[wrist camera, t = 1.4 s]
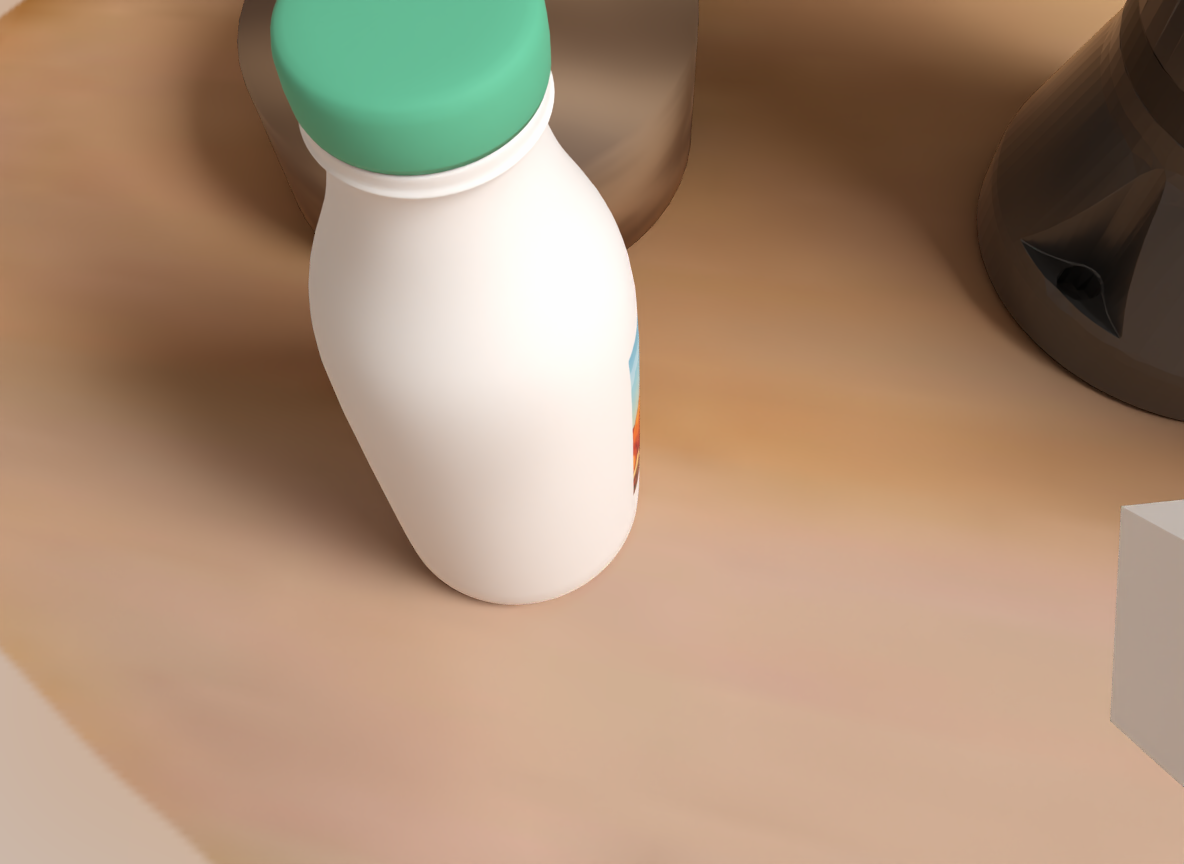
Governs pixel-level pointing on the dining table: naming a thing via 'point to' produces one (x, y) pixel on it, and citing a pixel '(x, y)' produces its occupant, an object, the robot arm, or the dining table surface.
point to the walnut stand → (581, 101)
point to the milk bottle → (467, 288)
